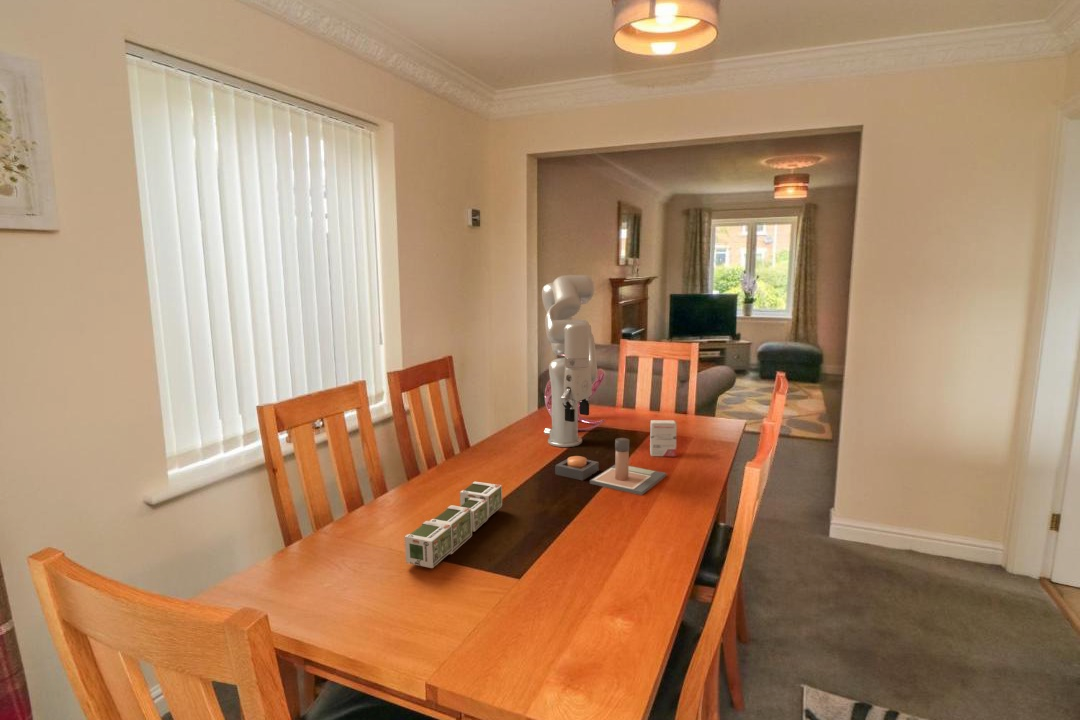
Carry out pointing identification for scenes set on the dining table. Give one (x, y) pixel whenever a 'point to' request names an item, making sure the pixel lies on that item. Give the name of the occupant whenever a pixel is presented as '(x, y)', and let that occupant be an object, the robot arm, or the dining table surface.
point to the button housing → (576, 470)
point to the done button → (577, 461)
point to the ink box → (663, 437)
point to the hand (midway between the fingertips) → (577, 417)
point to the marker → (621, 459)
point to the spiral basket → (594, 388)
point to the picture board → (629, 480)
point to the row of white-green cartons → (453, 525)
